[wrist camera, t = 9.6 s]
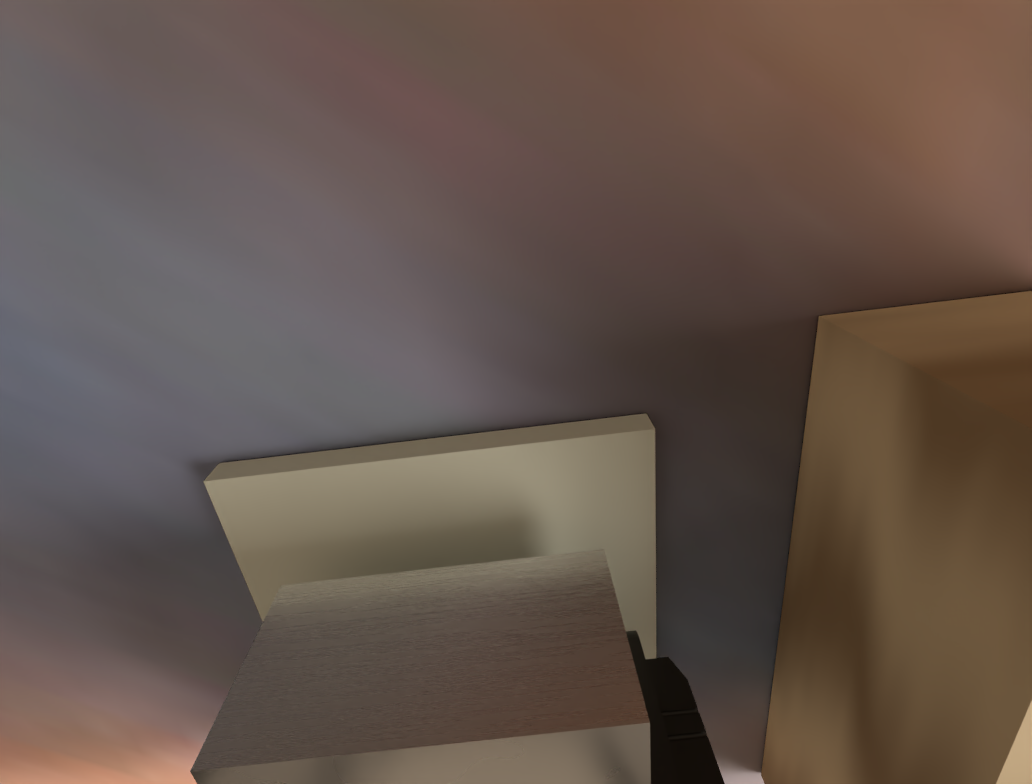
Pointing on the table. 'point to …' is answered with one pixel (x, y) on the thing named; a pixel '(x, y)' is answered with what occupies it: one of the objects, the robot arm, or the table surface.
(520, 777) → the lever cap
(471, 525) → the mat
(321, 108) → the table surface
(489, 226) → the table surface
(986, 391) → the body
